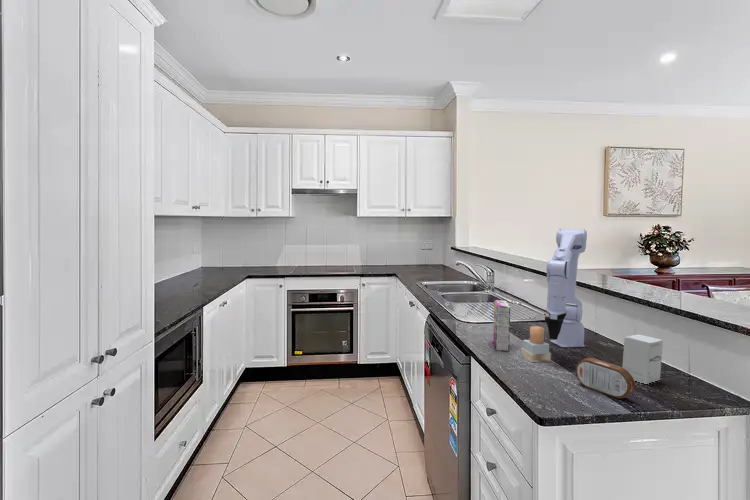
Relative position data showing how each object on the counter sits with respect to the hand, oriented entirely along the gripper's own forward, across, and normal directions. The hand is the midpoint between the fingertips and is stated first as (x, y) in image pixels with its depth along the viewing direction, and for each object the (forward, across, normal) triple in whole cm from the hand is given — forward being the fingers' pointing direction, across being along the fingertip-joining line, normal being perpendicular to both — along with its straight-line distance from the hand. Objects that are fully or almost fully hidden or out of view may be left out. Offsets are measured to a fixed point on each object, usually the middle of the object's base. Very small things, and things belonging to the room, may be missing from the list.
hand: (554, 336), depth 134 cm
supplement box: (+9, -3, -24) cm, 26 cm away
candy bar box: (+9, +6, +19) cm, 22 cm away
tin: (+9, -20, -14) cm, 26 cm away
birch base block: (+9, 0, +6) cm, 11 cm away
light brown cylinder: (+3, -1, +6) cm, 6 cm away
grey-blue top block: (+6, -1, +6) cm, 8 cm away
